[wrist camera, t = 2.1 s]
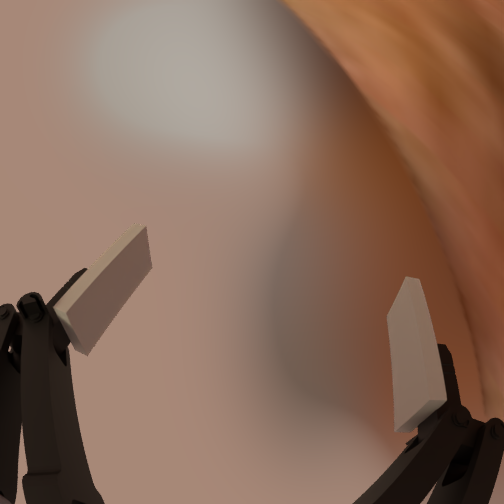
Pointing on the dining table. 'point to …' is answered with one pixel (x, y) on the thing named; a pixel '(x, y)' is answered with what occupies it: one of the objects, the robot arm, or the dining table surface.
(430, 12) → the dining table surface
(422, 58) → the dining table surface
